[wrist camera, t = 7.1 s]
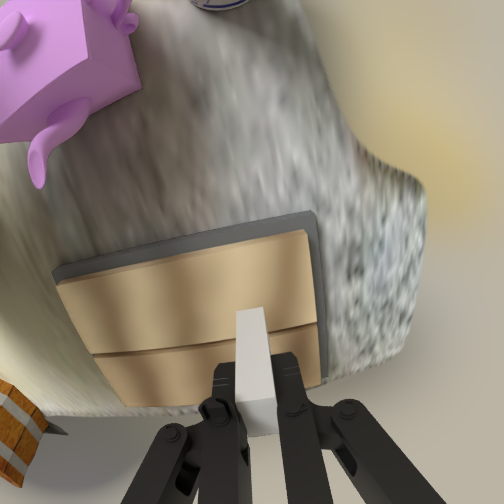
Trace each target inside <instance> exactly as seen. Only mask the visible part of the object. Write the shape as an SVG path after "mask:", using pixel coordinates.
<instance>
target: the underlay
mask: <svg viewBox="0 0 504 504" xmlns="http://www.w3.org/2000/svg"><path fill="white" fill-rule="evenodd" d="M302 229H303V230H304V231H305V232H306V233H307V236H308V243H309V251H310V259H311V268H312V277H313V286H314V296H315V306H316V317H317V322H315V323H316V325H317V330H318V342H319V357H320V373H321V378H325V377H328V352H327V332H326V317H325V303H324V290H323V279H322V269H321V259H320V250H319V241H318V233H317V225H316V217H315V213H313V212H312V211H311V210H309V211H304V212H299V213H293V214H288V215H283V216H278V217H273V218H268V219H262V220H257V221H252V222H248V223H243V224H238V225H233V226H228V227H223V228H219V229H214V230H209V231H205V232H200V233H195V234H191V235H186V236H182V237H177V238H173V239H169V240H164V241H160V242H155V243H151V244H147V245H143V246H138V247H134V248H130V249H126V250H122V251H118V252H114V253H110V254H105V255H101V256H98V257H94V258H90V259H86V260H82V261H78V262H74V263H70V264H66V265H63V266H59V267H57V268H56V269H55V270H53V271H52V272H51V273H52V275H53V277H54V280H55V282H56V285H57V284H58V283H60V282H61V281H62V280H65V279H69V278H74V277H78V276H83V275H87V274H92V273H96V272H101V271H105V270H110V269H114V268H119V267H123V266H128V265H132V264H137V263H142V262H146V261H151V260H156V259H160V258H165V257H170V256H174V255H179V254H184V253H189V252H193V251H198V250H203V249H208V248H213V247H217V246H222V245H227V244H232V243H237V242H242V241H247V240H252V239H257V238H262V237H267V236H272V235H277V234H282V233H287V232H292V231H297V230H302ZM95 354H96V353H95ZM95 354H92V355H93V357H94V356H95Z"/></svg>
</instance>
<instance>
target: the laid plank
mask: <svg viewBox="0 0 504 504" xmlns="http://www.w3.org/2000/svg"><path fill="white" fill-rule="evenodd" d="M268 336H269V341H270V347H271V354H272V355H274V354H279V353H285V352H290V351H291V352H292V353H293V354H294V355H295V356H296V357H297V360H298V364H299V368H300V372H301V375H302V379H303V383H304V387H305V388H308V387H313V386H317V385H321V373H320V357H319V342H318V330H317V325H316V323H315V322H313V323H308V324H304V325H300V326H295V327H290V328H286V329H281V330H276V331H271V332H268ZM93 359H94V361H95V362H96V364H97V366H98V367H99V369H100V370H101V372H102V373H103V375H104V377H105V378H106V380H107V381H108V383H109V384H110V386H111V387H112V388H113V390H114V391H115V393H116V394H117V396H118V397H119V398H120V400H121V401H122V402H123V404H124V405H125V406H126V407H160V406H184V405H198V404H201V403H202V402H203V401H204V400H205V399H207V398H209V397H211V396H212V387H213V375H214V370H215V368H216V367H217V365H218V364H219V363H225V362H233V361H236V338H232V339H226V340H220V341H213V342H207V343H200V344H192V345H185V346H177V347H168V348H159V349H149V350H138V351H126V352H112V353H96V354H95V356H94V357H93Z"/></svg>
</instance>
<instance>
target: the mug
mask: <svg viewBox="0 0 504 504" xmlns="http://www.w3.org/2000/svg"><path fill="white" fill-rule="evenodd" d="M48 426H49V424H48V422H47V421H46V419H45V418H44V416H43V415H42V413H41V412H40V410H39V409H38V407H37V406H36V405H35V404H33V403H32V402H31V401H30V400H29V399H28V398H27V397H25V396H24V395H23V394H22V393H21V392H20V391H19V390H18V389H17V388H16V387H15V386H14V385H11V384H9V383H7V382H5V381H3V380H1V379H0V476H1V477H2V478H4V479H6V480H7V481H8V482H10V483H12V484H13V485H15V486H16V487H19V488H22V485H23V480H24V476H25V474H26V471H27V468H28V466H29V465H30V463H31V461H32V459H33V457H34V456H35V453H36V450H37V447H38V444H39V442H40V439H41V437H42V435H43V433H44V432H45V430H46V429H47V427H48Z"/></svg>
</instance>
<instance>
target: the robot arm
mask: <svg viewBox="0 0 504 504" xmlns="http://www.w3.org/2000/svg"><path fill="white" fill-rule="evenodd" d="M198 410H199V412H200V413H201V415H202V417H203V419H204V420H203V421H202V422H200V423H198V424H195V425H192V426H189V427H184V426H183V425H180V424H178V423H171V424H167V425H165V426H164V427H162V428H161V429H160V430H159V431H158V433H157V435H156V437H155V439H154V441H153V443H152V445H151V446H150V448H149V450H148V453H147V454H146V456H145V458H144V460H143V462H142V464H141V466H140V468H139V469H138V471H137V473H136V475H135V477H134V479H133V481H132V483H131V485H130V487H129V488H128V490H127V492H126V494H125V496H124V498H123V500H122V502H121V504H192V503H193V501H194V498H195V495H196V493H197V490H198V487H199V494H198V504H252V485H251V465H250V447H249V444H248V442H247V434H248V437H257V436H265V435H271V434H278V433H279V435H280V443H281V450H282V457H283V458H282V459H283V466H284V474H285V482H286V490H287V498H288V504H333V499H332V495H331V490H330V486H329V482H328V477H327V473H326V468H325V464H324V461H323V456H322V451H321V449H327V450H331V451H332V452H333V454H334V455H335V457H336V458H337V460H338V462H339V463H340V465H341V466H342V468H343V469H344V471H345V473H346V474H347V476H348V477H349V479H350V480H351V482H352V483H353V485H354V486H355V488H356V489H357V491H358V492H359V494H360V496H361V497H362V498H363V500H364V501H365V503H366V504H446V502H445V501H444V500H443V499H442V498H441V497H440V496H439V494H438V493H437V492H436V491H435V490H434V489H433V487H432V486H431V485H430V484H429V483H428V481H427V480H426V479H425V478H424V477H423V476H422V474H421V473H420V472H419V471H418V470H417V468H416V467H415V466H414V465H413V464H412V462H411V461H410V460H409V459H408V458H407V457H406V455H405V454H404V453H403V452H402V451H401V449H400V448H399V447H398V446H397V445H396V443H395V442H394V441H393V440H392V439H391V437H390V436H389V435H388V434H387V433H386V431H385V430H384V429H383V428H382V427H381V426H380V424H379V423H378V422H377V421H376V419H375V418H374V417H373V416H372V415H371V414H370V412H369V411H368V410H367V408H366V407H365V406H364V405H363V404H362V403H361V402H360V401H358V400H354V399H345V400H341V401H340V402H338V403H336V404H335V405H334V407H331V406H329V407H328V406H318V405H316V404H314V403H312V402H311V401H310V400H309V399H308V398H307V395H306V391H305V387H304V383H303V379H302V375H301V372H300V368H299V364H298V360H297V357H296V356H295V355H294V354H293V353H292V352H291V351H290V352H285V353H279V354H274V355H272V354H271V347H270V341H269V336H268V330H267V325H266V320H265V315H264V309H263V307H259V308H253V309H247V310H241V311H236V361H233V362H225V363H219V364H218V365H217V367H216V368H215V370H214V375H213V387H212V396H211V397H209V398H207V399H205V400H204V401H203V402H202V403H201V404H200V406H199V409H198Z"/></svg>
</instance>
